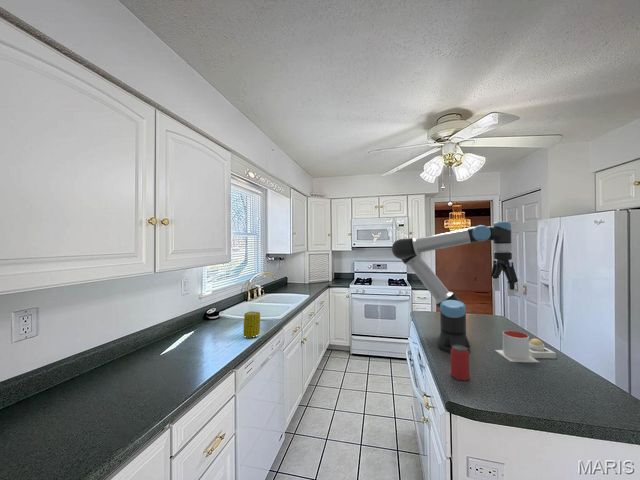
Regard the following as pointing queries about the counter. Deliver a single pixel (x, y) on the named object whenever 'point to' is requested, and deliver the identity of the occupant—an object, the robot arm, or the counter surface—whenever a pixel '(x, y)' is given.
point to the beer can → (460, 362)
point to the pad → (515, 358)
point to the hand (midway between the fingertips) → (503, 293)
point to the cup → (516, 344)
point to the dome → (536, 345)
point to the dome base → (542, 353)
